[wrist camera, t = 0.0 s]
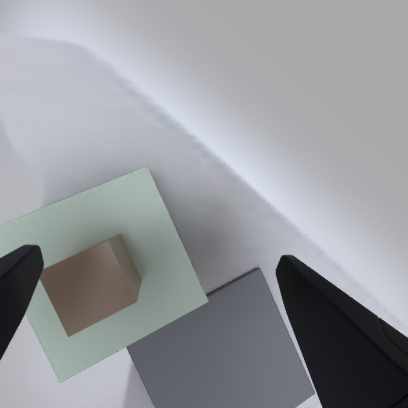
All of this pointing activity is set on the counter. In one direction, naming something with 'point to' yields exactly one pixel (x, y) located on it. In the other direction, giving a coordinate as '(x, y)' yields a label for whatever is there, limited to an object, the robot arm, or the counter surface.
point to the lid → (104, 271)
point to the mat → (224, 354)
